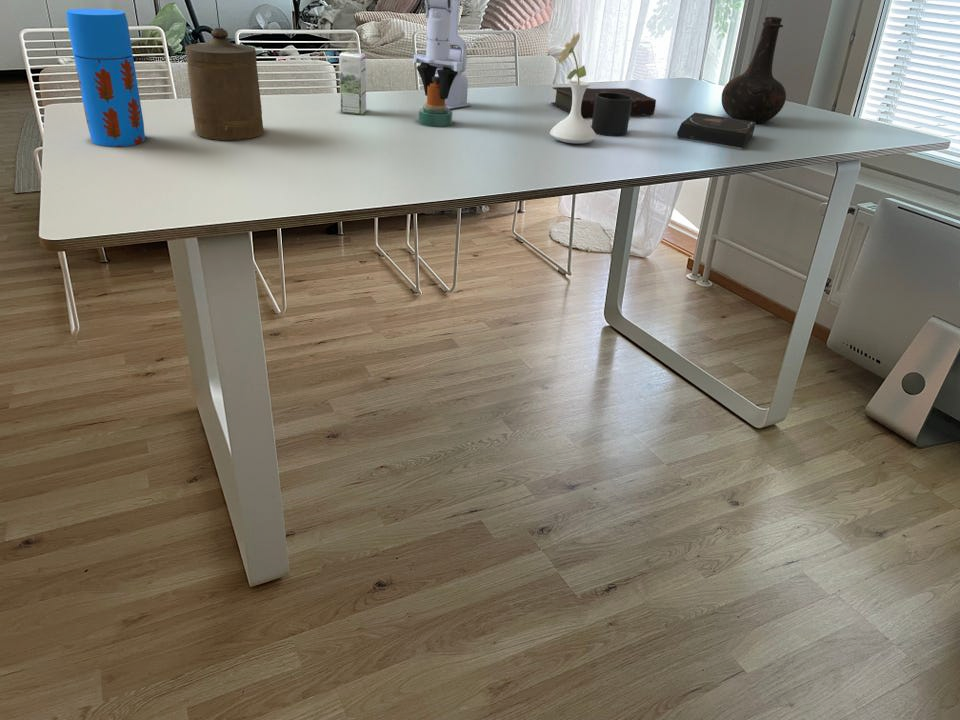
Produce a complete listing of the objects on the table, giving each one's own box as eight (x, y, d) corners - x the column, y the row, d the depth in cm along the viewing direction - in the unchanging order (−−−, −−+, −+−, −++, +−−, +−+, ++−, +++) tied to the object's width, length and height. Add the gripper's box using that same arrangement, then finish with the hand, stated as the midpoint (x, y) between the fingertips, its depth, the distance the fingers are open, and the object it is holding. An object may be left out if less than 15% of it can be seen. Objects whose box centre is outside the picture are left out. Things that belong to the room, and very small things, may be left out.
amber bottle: (435, 101, 191) (436, 74, 188) (448, 104, 189) (449, 77, 186) (423, 103, 188) (423, 76, 185) (436, 106, 186) (437, 79, 182)
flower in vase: (568, 133, 190) (581, 27, 178) (604, 143, 184) (620, 34, 171) (535, 140, 182) (546, 29, 169) (570, 150, 175) (585, 36, 163)
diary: (654, 116, 215) (657, 98, 213) (578, 118, 207) (580, 99, 204) (621, 102, 230) (624, 86, 227) (549, 104, 221) (551, 86, 219)
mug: (641, 133, 195) (647, 98, 191) (608, 137, 189) (614, 101, 184) (615, 125, 202) (621, 90, 197) (583, 129, 195) (588, 93, 191)
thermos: (157, 138, 161) (137, 12, 149) (121, 149, 152) (97, 16, 140) (116, 131, 164) (94, 7, 151) (78, 141, 155) (52, 10, 143)
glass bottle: (713, 121, 215) (737, 15, 201) (720, 110, 230) (742, 11, 216) (777, 130, 210) (806, 22, 196) (780, 118, 225) (807, 18, 210)
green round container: (434, 117, 196) (434, 98, 194) (458, 123, 192) (459, 104, 189) (411, 121, 190) (412, 102, 188) (436, 128, 186) (437, 108, 183)
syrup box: (366, 110, 198) (366, 52, 191) (361, 115, 193) (360, 55, 186) (345, 108, 198) (344, 50, 191) (340, 113, 193) (338, 53, 186)
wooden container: (234, 121, 178) (224, 22, 167) (276, 133, 171) (269, 30, 160) (181, 131, 167) (166, 25, 156) (223, 144, 160) (211, 35, 149)
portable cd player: (689, 126, 206) (692, 112, 204) (752, 137, 200) (755, 122, 198) (675, 138, 194) (678, 122, 191) (742, 149, 188) (746, 133, 185)
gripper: (405, 36, 182) (404, 93, 189) (449, 44, 174) (447, 104, 181) (424, 34, 187) (423, 90, 194) (468, 42, 179) (465, 100, 186)
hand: (436, 97), depth 188 cm, fingers closed on amber bottle, 4 cm apart
